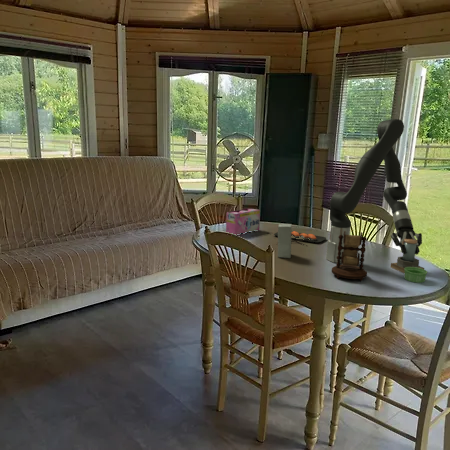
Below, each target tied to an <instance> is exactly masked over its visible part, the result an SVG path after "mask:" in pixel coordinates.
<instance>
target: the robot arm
mask: <svg viewBox="0 0 450 450" xmlns="http://www.w3.org/2000/svg"><path fill="white" fill-rule="evenodd" d="M404 131H405V124H404V121H402V120H401V119H399V118H391V119H385V120H382V121H380V122H379V123H378V125H377V128H376V132H377V137H378V141H377V142H376V144H374V145H373V146H371V148H369V149H368V150H366V152H365V153H364V154H363V155H362V157H361V158H360V159H359V161H358V163H357V164H356V166H355V169H354V177H353V179H354V180H353V182H352V185H351V187H350V188H349V190H348V191H347V192H344V191H336V192H334V193H333V194H332V196H331V198H330V203H329V220H330V230H329V239H328V240H327V243H326V244H327V245H326V247H327V248H326V254H325V255H326V256H325V260H328V261H330V263H333V264H334V263H336V264H337V262H338V261H337V256H338V245H339V244H338V243H339V235H343V237H344V231H345V232H346V234H345V235H351V227H352V220H351V219H350V218H348V216H347V214H350V213H352V212H354V210H355V209H356V208H357V206H358V204H359V202H360V200H361V198H362V196H363V194H364V192H365V190H366V189H367V186H368V185H369V183H370V182H371V180H372V179H373V177H374V176H375V174H376V173H377V171H378V170H379V168H380V166H381V164H382V163H383V162H384V170H385V180H386V182H387V183H392V184H397V186H391V187H386V188H385V189H384V190H383V192H382V193H383V198H384V200H385V202H386V203H387V204H388V206H389V208H390V210H391V214H392V219H393V225H394V228H395V231H396V232H392V234H391V235H390V237H391V239H392V242H393V243H394V245H395V246H396V247H399V248H400V251H401V253H402V255H403V254H406V253H407V251H406V248H405V245H404V239H415V240H417V244H416V251H415V256H416V255H418V254H419V253H420V246H421V245H423V235H422V233H421V232H419V233H416V231H415V230H414V225H413V221H412V218H411V216H410V215H411V214H410V213H409V210H408V207H407V203H406V202H405V201H403V200H406V198H407V196H408V192H407V189H406V187H405V185H404V184H405V183H404V181H403V177H402V169H401V167H402V166H401V162H400V160H399V158H398V155H397V154H396V152H395V150H394V145H395V144H396V143H397V142H398V141H399V139H400V138H401V137H402V136H403V135H402V134H403V133H404ZM399 239H400V240H399ZM341 246H343V247H344V243H343V239H342V245H341ZM343 251H344V249H342V250H341V255H342V252H343ZM341 255H340V256H341ZM340 264H341V260H340Z"/></svg>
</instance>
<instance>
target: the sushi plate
mask: <svg viewBox="0 0 450 450" xmlns="http://www.w3.org/2000/svg"><path fill="white" fill-rule="evenodd" d="M273 235H274V236H276V237H278V231H277V232H275V233H274V234H273ZM292 235H293V236H294V237H295V238H291V243H297V244H299V243H300V245H302V244H303V245H302V246H304V245H306V247H308V245H307V244H304V243H302V242H307V241H308V242H309V243H314V242H315V244H316V243H317V244H319V243H322V242H324V241H325V240H326V239H327V237H326V236H321V235H315V234H313V233H304V232H298V231H295V230H294V231H291V236H292ZM299 236H300V237H302V238H303V239H304V240H303V239H296V238H299ZM308 238H309V239H310V240H309V239H308ZM295 239H296V240H295ZM300 241H302V242H300Z"/></svg>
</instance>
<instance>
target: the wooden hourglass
mask: <svg viewBox="0 0 450 450" xmlns="http://www.w3.org/2000/svg"><path fill="white" fill-rule="evenodd" d="M345 234H346V232H345V231H344V237H343V235H339V243H338V244H339V245H338V256H337V261H338V262H337V263H336V264H335V266H333V267H331V274H333V275H334V276H336V278H337V279H338V280H339V279H340V278H344V279H348V280H349V279H350V280H360V282H362V281H363V279H364V278H365V279H366V277H367V276H368V271H367V270H365V269H364V262H365V253H366V241H367V236H363V232H362V231H360V234H359V235H356V234H350V235H345ZM342 239H343V243H344V247H343V246H341V245H342ZM342 249H344V251H343V252H342V255H341V250H342ZM360 253H361V254H360ZM340 255H341V256H340ZM340 260H341V263H340Z"/></svg>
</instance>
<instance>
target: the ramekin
mask: <svg viewBox="0 0 450 450" xmlns="http://www.w3.org/2000/svg"><path fill="white" fill-rule="evenodd" d="M404 271H405V273H404V274H403V275H404V276H403V277H404V280H406V281H408V282H411V283H416V284H417V283H418V284H420V283H421V284H422V283H425V282H426V277H427V274H428V271H427V269H425V268H424V269H421V268H417V267H406V268H404Z"/></svg>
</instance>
